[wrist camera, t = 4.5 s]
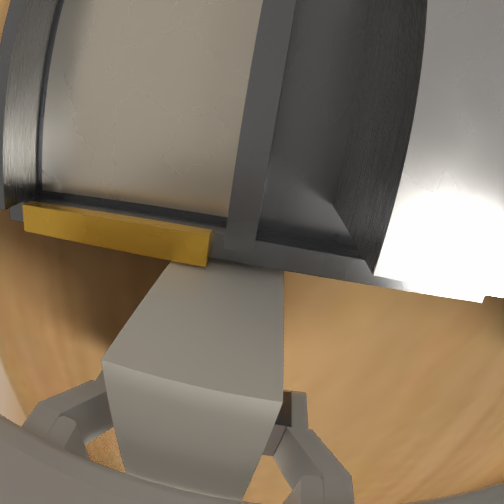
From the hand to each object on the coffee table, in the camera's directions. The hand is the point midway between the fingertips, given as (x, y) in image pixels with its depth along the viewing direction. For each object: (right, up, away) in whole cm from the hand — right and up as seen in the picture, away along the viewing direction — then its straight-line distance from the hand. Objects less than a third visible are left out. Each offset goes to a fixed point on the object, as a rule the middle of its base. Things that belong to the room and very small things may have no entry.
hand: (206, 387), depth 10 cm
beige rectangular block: (0, +1, +3) cm, 3 cm away
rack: (+2, +10, -1) cm, 11 cm away
